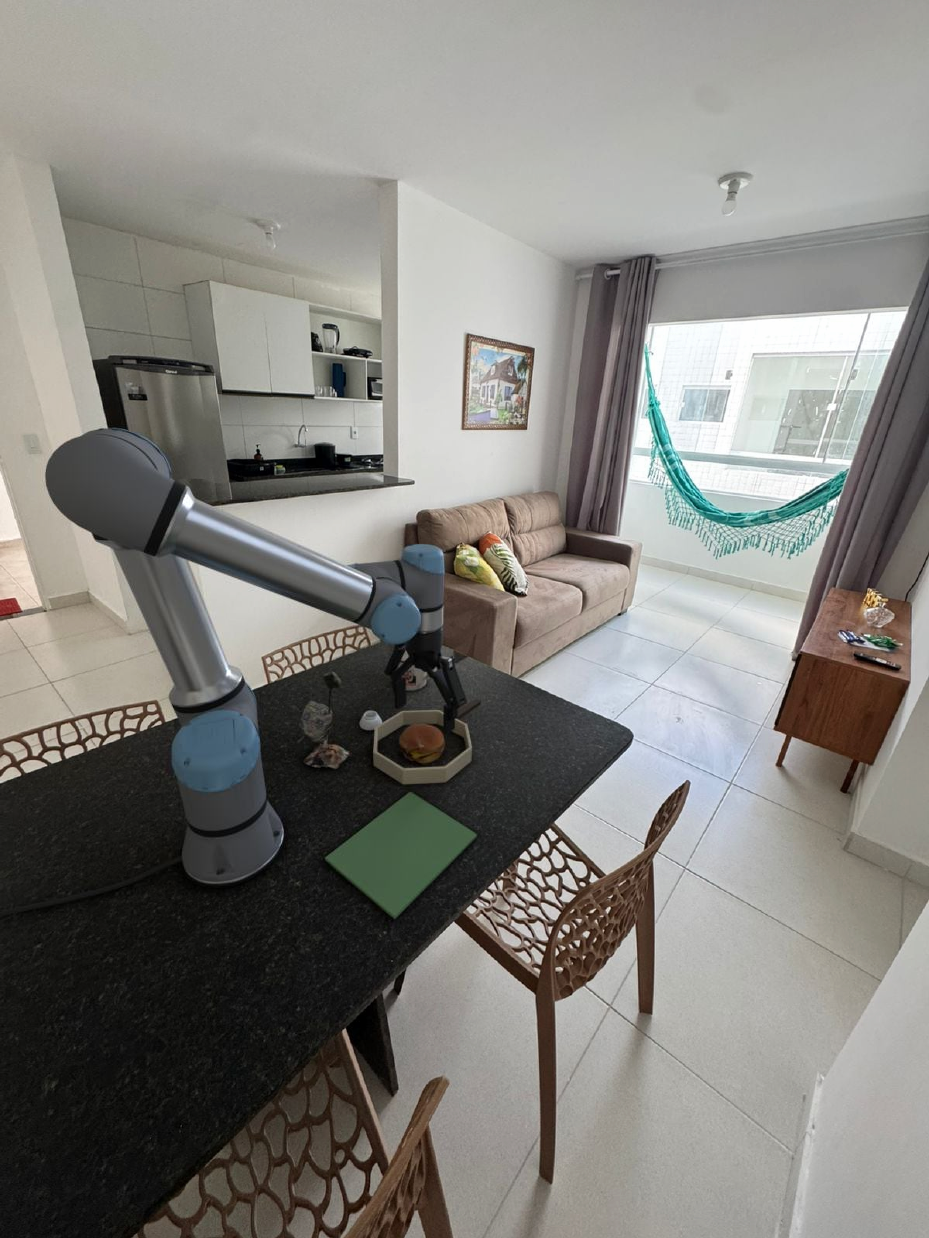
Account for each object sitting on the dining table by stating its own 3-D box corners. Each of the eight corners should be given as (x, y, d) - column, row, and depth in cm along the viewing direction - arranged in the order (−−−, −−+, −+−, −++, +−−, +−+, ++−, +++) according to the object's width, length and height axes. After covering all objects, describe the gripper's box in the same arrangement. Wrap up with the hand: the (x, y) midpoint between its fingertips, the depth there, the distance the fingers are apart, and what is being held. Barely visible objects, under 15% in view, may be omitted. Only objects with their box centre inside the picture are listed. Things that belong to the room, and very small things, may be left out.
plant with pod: (318, 737, 112) (311, 657, 104) (357, 756, 107) (353, 673, 99) (289, 757, 106) (279, 673, 98) (329, 778, 101) (322, 691, 93)
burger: (434, 732, 116) (435, 715, 114) (451, 757, 108) (451, 740, 106) (392, 743, 112) (392, 725, 110) (406, 769, 104) (406, 751, 102)
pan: (425, 798, 97) (425, 784, 95) (354, 753, 108) (353, 739, 106) (512, 727, 119) (513, 715, 117) (446, 696, 130) (446, 684, 128)
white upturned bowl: (357, 731, 115) (380, 732, 115) (357, 720, 114) (379, 721, 114) (362, 718, 119) (383, 719, 120) (361, 707, 118) (383, 708, 118)
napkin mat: (394, 919, 74) (394, 916, 74) (324, 860, 83) (324, 857, 83) (477, 836, 89) (477, 834, 89) (410, 793, 98) (410, 791, 98)
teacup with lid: (386, 686, 133) (385, 646, 128) (403, 671, 140) (403, 632, 136) (427, 697, 129) (428, 657, 124) (442, 681, 136) (444, 642, 132)
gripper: (487, 638, 94) (482, 733, 102) (391, 603, 107) (394, 689, 116) (462, 653, 88) (459, 752, 97) (364, 614, 102) (369, 703, 111)
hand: (423, 718), depth 106 cm, fingers open, 13 cm apart
